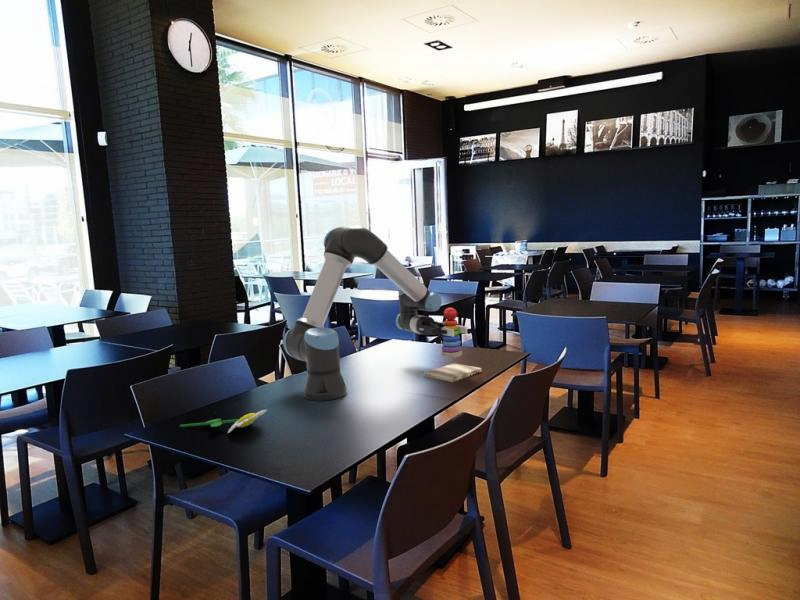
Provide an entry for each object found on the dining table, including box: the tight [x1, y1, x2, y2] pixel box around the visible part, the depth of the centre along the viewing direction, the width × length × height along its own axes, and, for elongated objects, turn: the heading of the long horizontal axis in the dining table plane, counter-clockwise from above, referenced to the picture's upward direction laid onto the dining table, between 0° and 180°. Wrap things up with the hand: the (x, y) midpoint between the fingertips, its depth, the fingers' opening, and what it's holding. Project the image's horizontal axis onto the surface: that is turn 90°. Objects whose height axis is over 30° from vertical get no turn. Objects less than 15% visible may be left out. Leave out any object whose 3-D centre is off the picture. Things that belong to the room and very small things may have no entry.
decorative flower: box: [179, 409, 268, 434], centre depth 167 cm, size 13×5×30 cm
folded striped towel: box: [423, 363, 482, 383], centre depth 216 cm, size 18×14×2 cm
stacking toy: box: [441, 307, 463, 358], centre depth 214 cm, size 8×8×19 cm
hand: (460, 331), depth 209 cm, fingers closed on stacking toy, 6 cm apart
